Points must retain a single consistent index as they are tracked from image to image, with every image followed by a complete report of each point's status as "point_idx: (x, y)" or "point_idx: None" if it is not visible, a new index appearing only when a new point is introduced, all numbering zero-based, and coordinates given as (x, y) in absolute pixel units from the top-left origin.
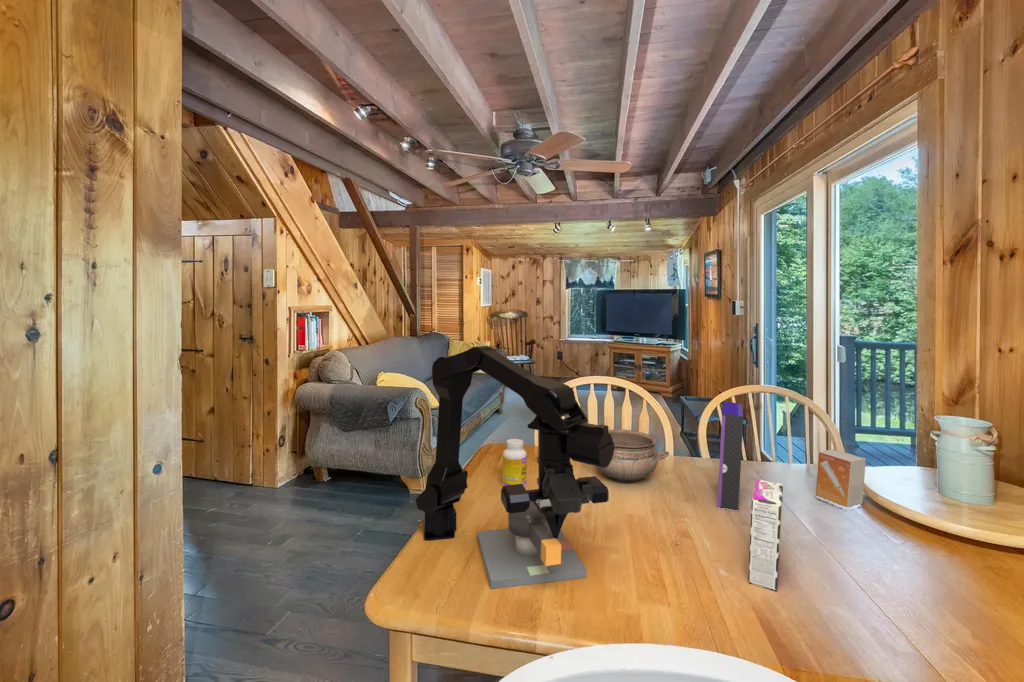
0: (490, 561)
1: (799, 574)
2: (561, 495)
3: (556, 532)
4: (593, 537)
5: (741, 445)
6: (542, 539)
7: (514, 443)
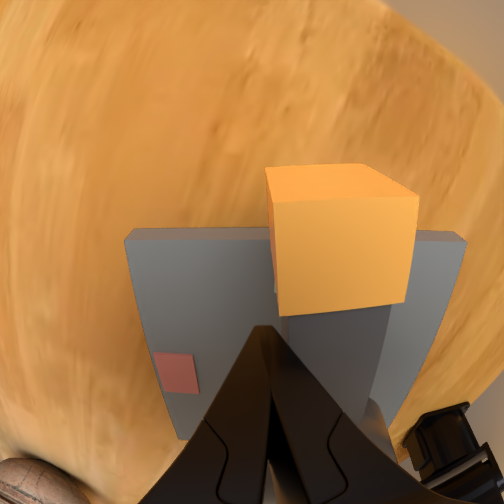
0: (427, 330)
1: None
2: None
3: (265, 361)
4: (92, 384)
5: None
6: (380, 318)
7: None
